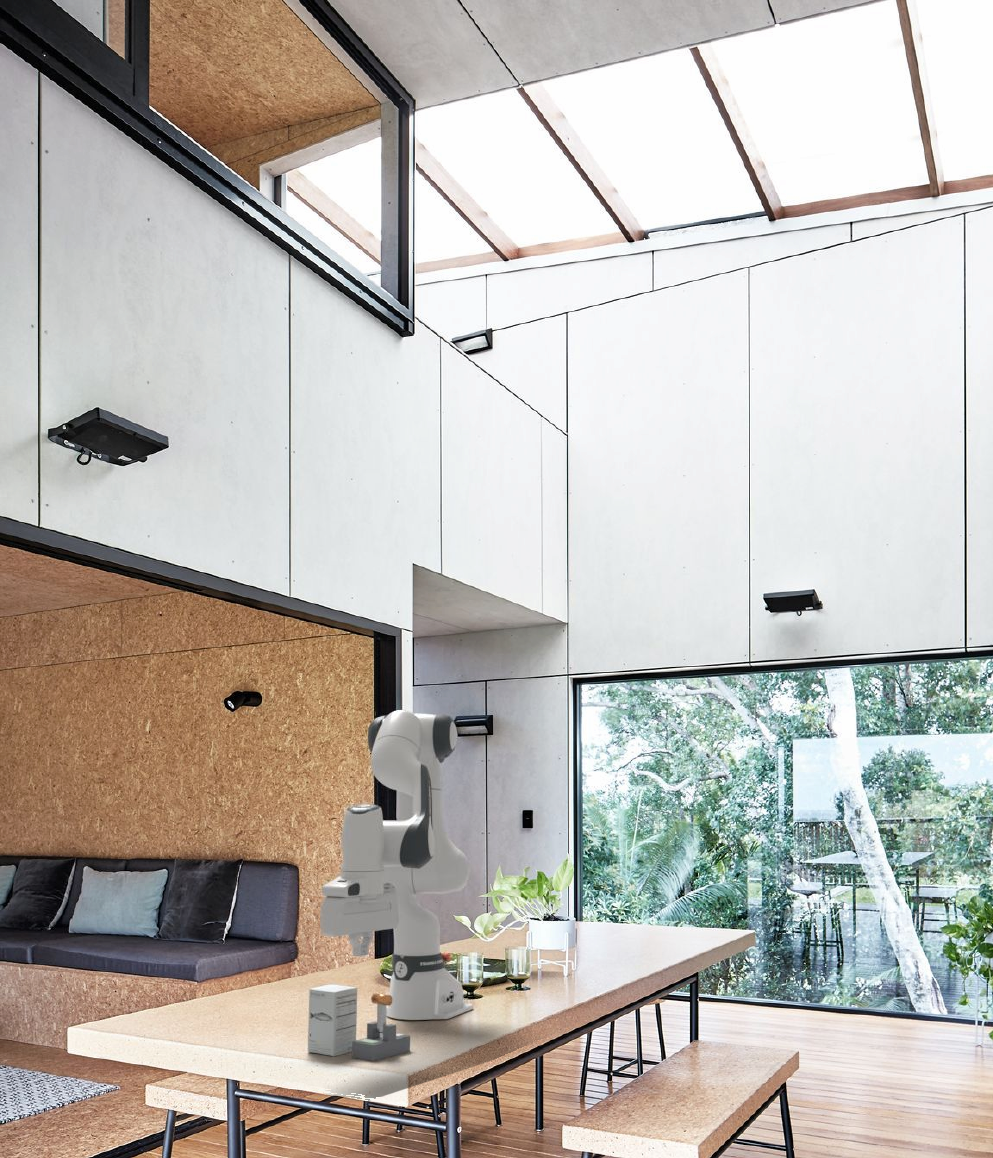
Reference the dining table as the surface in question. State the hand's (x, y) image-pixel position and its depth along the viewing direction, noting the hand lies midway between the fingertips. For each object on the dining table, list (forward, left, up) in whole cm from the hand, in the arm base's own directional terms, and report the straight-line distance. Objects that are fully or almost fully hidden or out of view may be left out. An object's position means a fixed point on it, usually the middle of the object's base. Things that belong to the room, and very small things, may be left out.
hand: (360, 955), depth 231 cm
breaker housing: (-7, 0, -20) cm, 21 cm away
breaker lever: (-7, 0, -15) cm, 17 cm away
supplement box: (-3, -10, -20) cm, 23 cm away
